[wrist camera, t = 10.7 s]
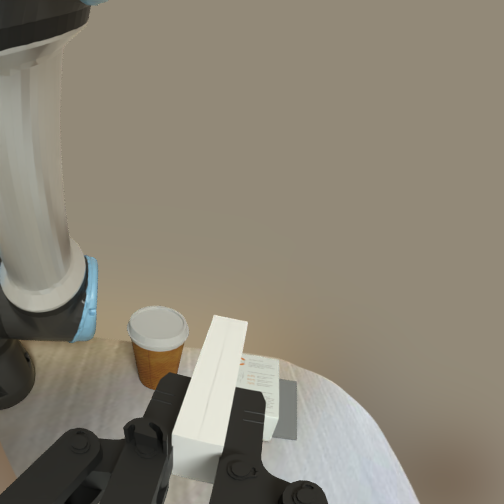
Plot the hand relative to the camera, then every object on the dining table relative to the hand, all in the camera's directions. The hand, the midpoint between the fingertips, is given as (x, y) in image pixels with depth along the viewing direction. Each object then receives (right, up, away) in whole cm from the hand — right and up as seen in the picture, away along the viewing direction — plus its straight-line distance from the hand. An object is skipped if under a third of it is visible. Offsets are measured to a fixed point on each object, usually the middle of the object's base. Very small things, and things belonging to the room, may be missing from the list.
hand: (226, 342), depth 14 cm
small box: (0, -21, +26) cm, 34 cm away
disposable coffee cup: (-15, -17, +37) cm, 43 cm away
